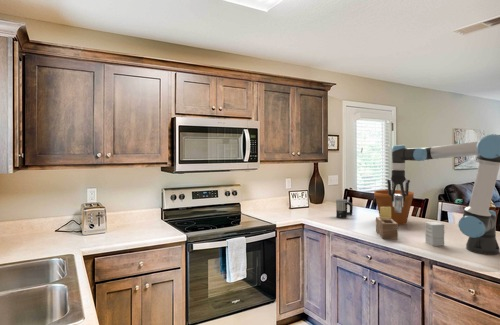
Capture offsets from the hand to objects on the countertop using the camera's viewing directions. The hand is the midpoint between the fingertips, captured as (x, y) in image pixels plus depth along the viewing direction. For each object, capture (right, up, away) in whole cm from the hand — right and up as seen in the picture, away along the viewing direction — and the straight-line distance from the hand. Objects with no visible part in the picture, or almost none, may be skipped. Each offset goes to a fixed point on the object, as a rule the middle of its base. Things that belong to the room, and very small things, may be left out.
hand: (397, 206), depth 201 cm
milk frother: (-12, -19, +73) cm, 76 cm away
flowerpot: (+19, -19, +49) cm, 56 cm away
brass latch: (-2, -10, +13) cm, 17 cm away
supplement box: (+18, -21, -10) cm, 29 cm away
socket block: (-2, -21, +12) cm, 24 cm away
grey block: (0, -4, 0) cm, 4 cm away
